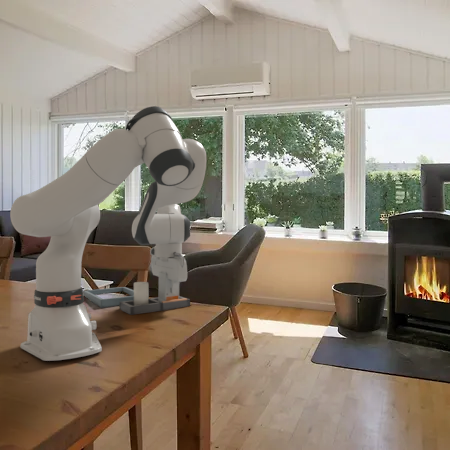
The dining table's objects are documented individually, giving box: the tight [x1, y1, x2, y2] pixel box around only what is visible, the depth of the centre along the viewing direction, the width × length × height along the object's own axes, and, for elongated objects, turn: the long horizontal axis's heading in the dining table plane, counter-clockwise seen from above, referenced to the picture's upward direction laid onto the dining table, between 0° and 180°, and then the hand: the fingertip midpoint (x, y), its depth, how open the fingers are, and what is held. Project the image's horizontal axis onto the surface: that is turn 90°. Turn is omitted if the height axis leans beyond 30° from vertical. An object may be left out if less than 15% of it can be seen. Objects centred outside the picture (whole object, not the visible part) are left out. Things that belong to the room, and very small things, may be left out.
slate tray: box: [83, 286, 134, 309], centre depth 165 cm, size 20×16×3 cm
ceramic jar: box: [133, 281, 150, 306], centre depth 151 cm, size 5×5×9 cm
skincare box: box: [157, 272, 180, 302], centre depth 156 cm, size 6×4×12 cm
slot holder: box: [118, 295, 191, 316], centre depth 154 cm, size 9×22×3 cm, turn 124°
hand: (168, 291), depth 156 cm, fingers open, 5 cm apart
